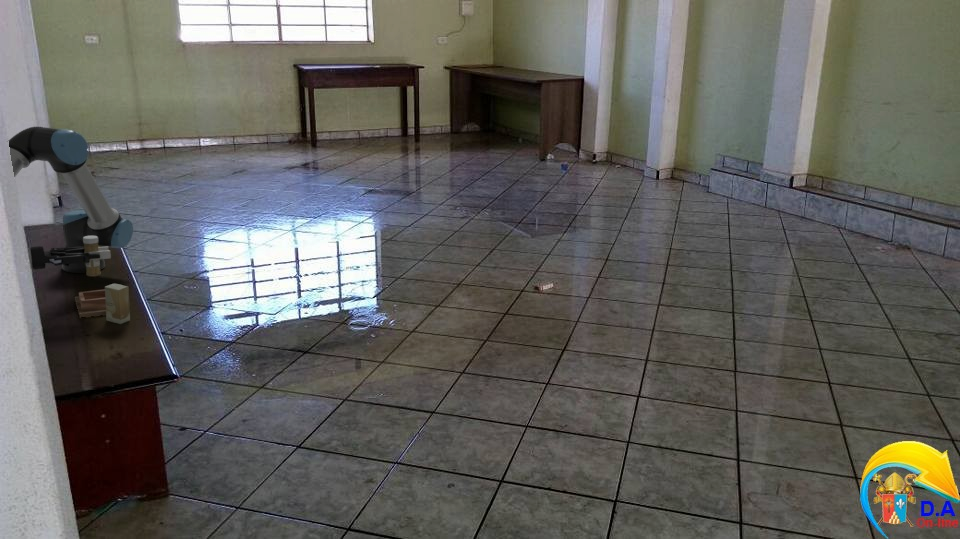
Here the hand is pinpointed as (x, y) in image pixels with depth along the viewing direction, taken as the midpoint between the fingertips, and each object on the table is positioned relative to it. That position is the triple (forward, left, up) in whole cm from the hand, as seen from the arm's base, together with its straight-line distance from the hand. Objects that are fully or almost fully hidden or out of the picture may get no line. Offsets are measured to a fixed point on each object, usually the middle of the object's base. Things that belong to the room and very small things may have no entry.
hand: (109, 252), depth 255 cm
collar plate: (+2, -5, -19) cm, 20 cm away
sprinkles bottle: (+2, -5, -8) cm, 9 cm away
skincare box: (+15, +5, -20) cm, 25 cm away
